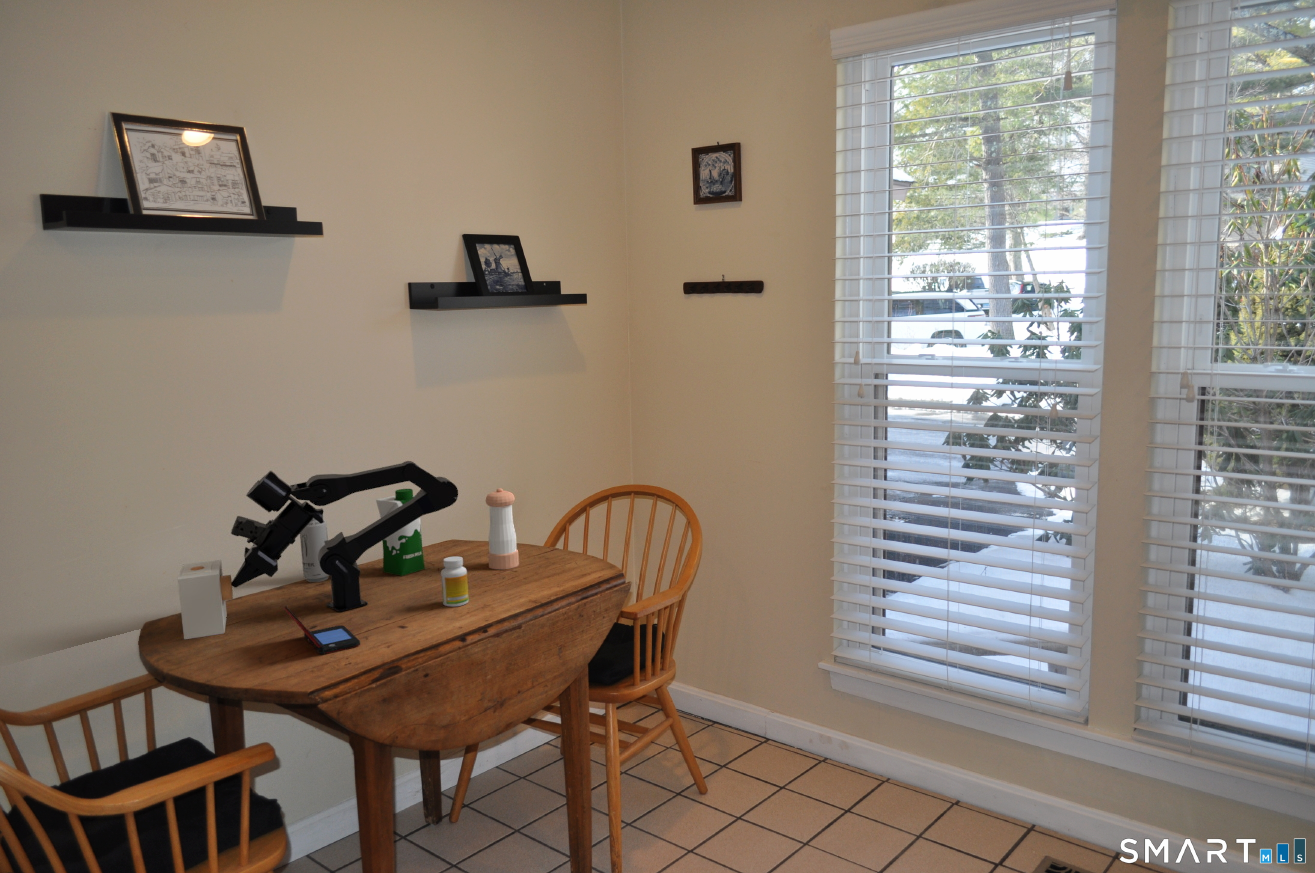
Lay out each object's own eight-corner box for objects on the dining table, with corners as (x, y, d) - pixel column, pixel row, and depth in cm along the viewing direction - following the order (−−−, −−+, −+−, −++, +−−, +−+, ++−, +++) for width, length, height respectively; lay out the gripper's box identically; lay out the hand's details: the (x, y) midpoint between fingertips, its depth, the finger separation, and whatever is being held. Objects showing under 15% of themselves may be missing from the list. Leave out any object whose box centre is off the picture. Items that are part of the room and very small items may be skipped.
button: (233, 595, 182) (230, 572, 182) (232, 602, 178) (229, 578, 177) (211, 598, 181) (209, 574, 180) (210, 605, 176) (207, 581, 175)
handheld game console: (362, 647, 165) (359, 608, 164) (301, 661, 159) (297, 621, 158) (343, 629, 175) (340, 592, 174) (286, 641, 169) (282, 604, 168)
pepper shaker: (516, 569, 213) (512, 490, 210) (486, 570, 213) (481, 491, 211) (521, 560, 220) (517, 485, 218) (492, 561, 220) (487, 485, 218)
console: (226, 615, 185) (221, 558, 184) (224, 633, 174) (218, 572, 173) (189, 621, 183) (183, 562, 181) (184, 639, 172) (177, 577, 170)
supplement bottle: (473, 602, 189) (471, 557, 187) (452, 608, 185) (449, 563, 184) (459, 597, 192) (456, 553, 191) (437, 603, 188) (434, 559, 187)
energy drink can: (299, 580, 210) (293, 518, 208) (323, 574, 214) (318, 513, 212) (311, 584, 206) (306, 521, 204) (335, 578, 210) (330, 516, 208)
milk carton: (401, 577, 209) (395, 494, 206) (377, 572, 214) (370, 491, 212) (430, 568, 216) (425, 487, 213) (406, 563, 221) (400, 484, 219)
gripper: (255, 494, 188) (202, 551, 185) (253, 510, 171) (195, 573, 168) (298, 526, 192) (246, 582, 189) (301, 545, 175) (244, 607, 172)
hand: (232, 585), depth 180 cm, fingers closed, pressing on button
